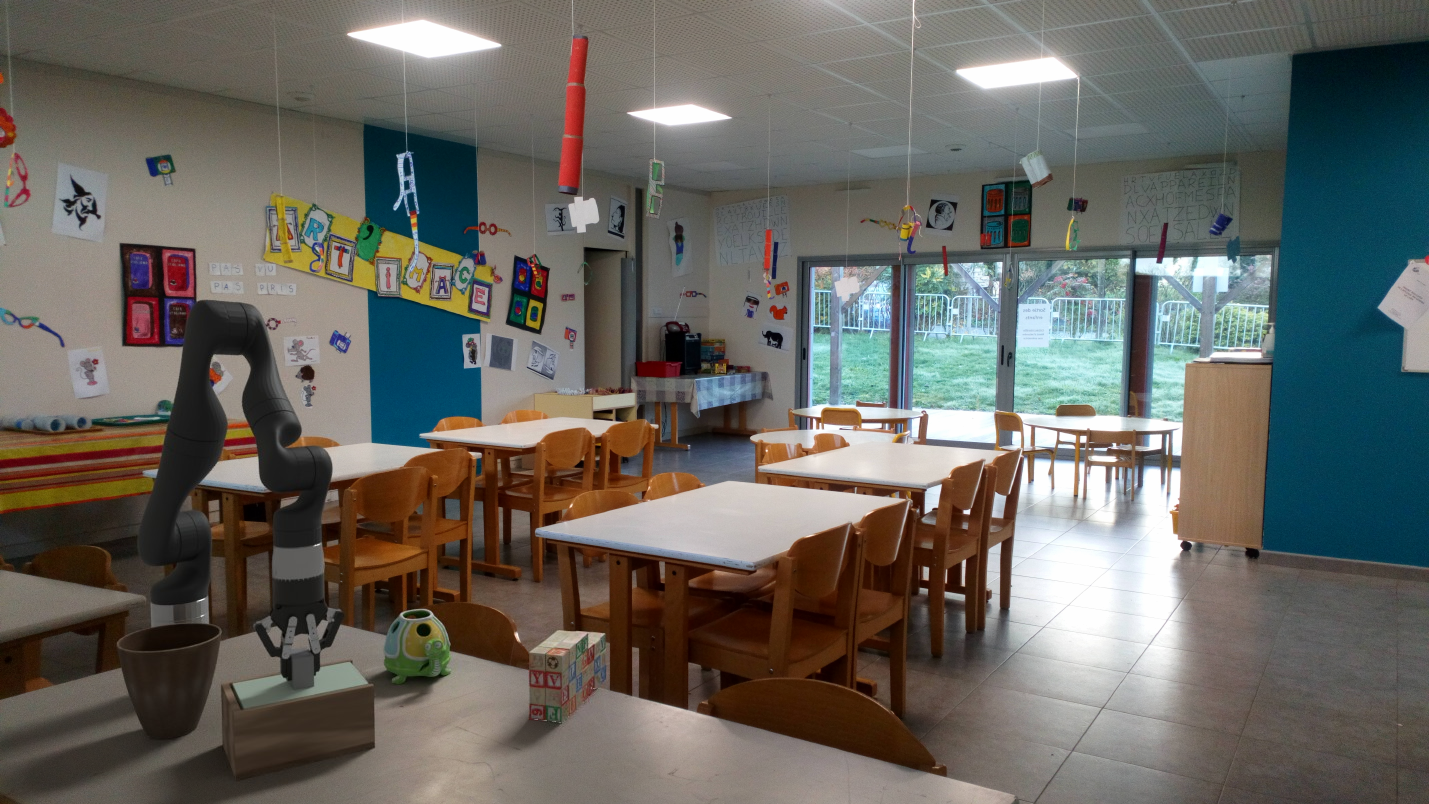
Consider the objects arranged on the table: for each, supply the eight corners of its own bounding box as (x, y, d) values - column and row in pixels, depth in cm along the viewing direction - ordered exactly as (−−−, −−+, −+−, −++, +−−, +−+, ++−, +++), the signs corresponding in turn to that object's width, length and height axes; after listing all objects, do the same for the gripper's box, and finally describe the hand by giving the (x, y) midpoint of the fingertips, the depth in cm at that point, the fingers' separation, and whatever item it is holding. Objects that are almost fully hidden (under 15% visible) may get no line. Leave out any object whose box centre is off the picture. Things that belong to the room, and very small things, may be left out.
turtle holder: (405, 699, 167) (404, 635, 166) (375, 669, 181) (374, 610, 180) (470, 684, 174) (469, 622, 173) (436, 657, 189) (435, 600, 188)
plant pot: (217, 704, 163) (214, 616, 162) (230, 734, 151) (227, 640, 150) (117, 724, 154) (114, 632, 153) (122, 758, 142) (119, 657, 141)
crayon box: (222, 744, 147) (220, 682, 147) (352, 715, 159) (351, 658, 158) (236, 780, 135) (234, 713, 135) (374, 747, 147) (374, 685, 146)
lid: (232, 690, 147) (231, 652, 146) (350, 668, 157) (349, 632, 156) (244, 716, 137) (243, 675, 136) (368, 690, 147) (368, 653, 147)
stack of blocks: (576, 676, 179) (576, 614, 178) (606, 679, 178) (607, 617, 177) (528, 720, 158) (528, 650, 158) (562, 724, 157) (562, 654, 156)
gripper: (339, 560, 153) (340, 661, 154) (245, 572, 144) (248, 678, 146) (350, 570, 146) (352, 675, 148) (253, 582, 138) (256, 694, 140)
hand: (300, 676), depth 147 cm, fingers closed on lid, 3 cm apart
